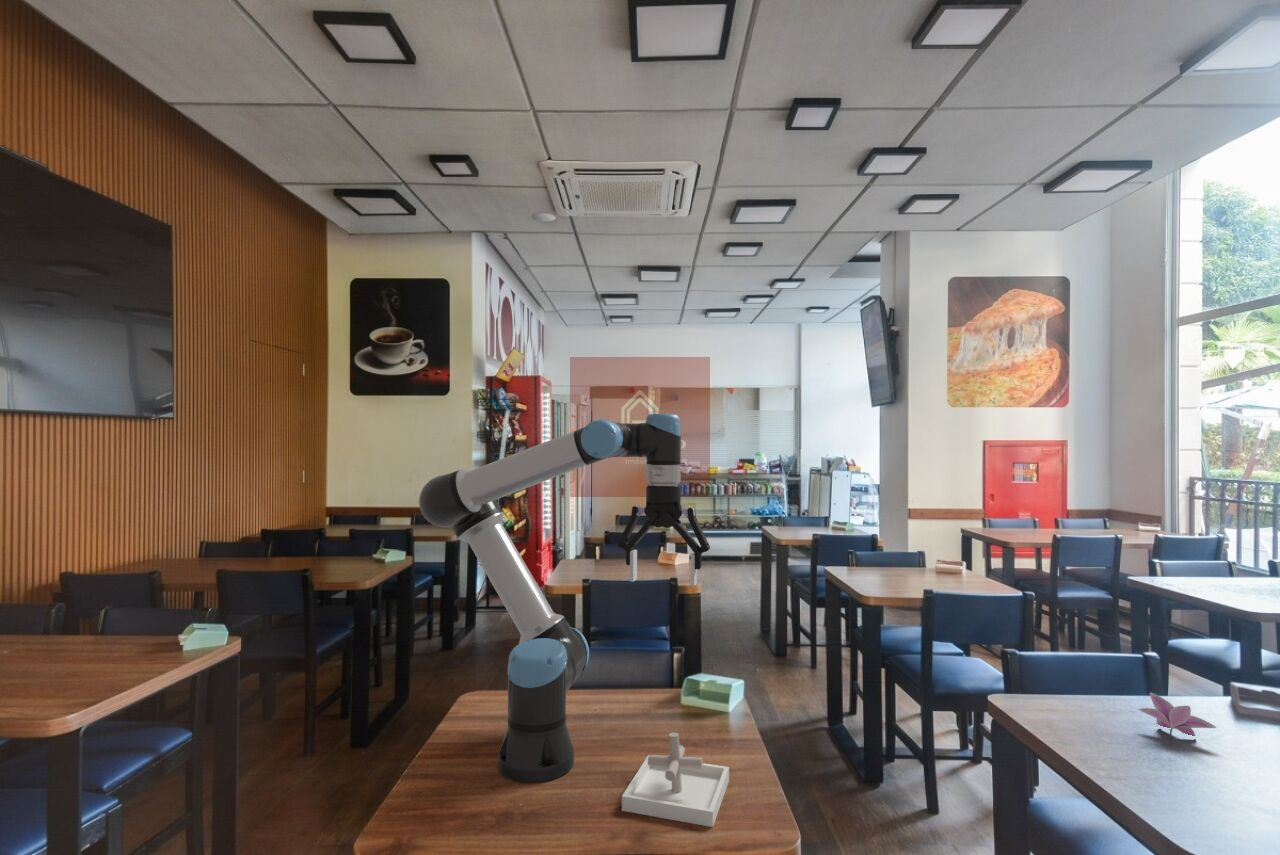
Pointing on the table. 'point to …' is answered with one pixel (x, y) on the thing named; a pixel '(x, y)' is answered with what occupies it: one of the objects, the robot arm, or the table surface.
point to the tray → (677, 794)
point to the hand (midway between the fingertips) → (663, 582)
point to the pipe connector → (675, 762)
